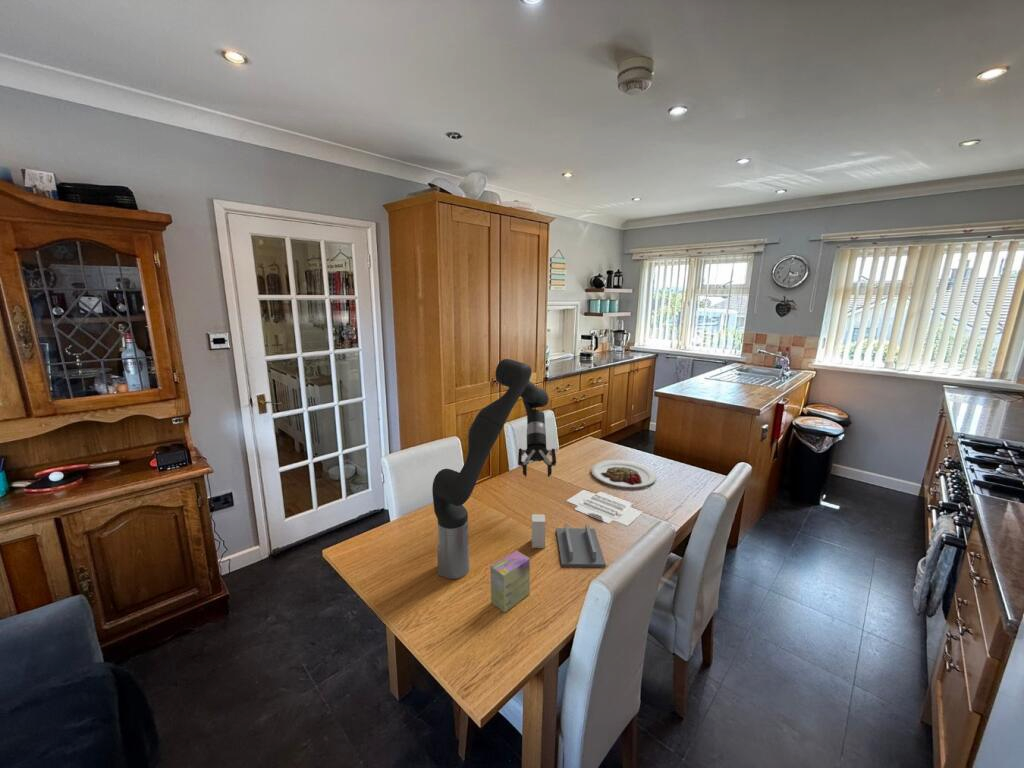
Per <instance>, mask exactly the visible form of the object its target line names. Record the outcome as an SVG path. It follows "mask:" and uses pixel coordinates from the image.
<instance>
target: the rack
mask: <svg viewBox="0 0 1024 768" xmlns="http://www.w3.org/2000/svg"><path fill="white" fill-rule="evenodd" d="M584 526H585V527H584V528H576V527H575V528H569V526H568V523H564V528H562V527H559V528H558V527H557V528H555V530H556V537H557V544H558V545H557V546H558V550H559V557H560V564H561V565H560V566H561V567H562V568H563V567H564V568H565V567H567V568H576V567H577V568H606V566H607V565H606V564H607V563H606V561H605V557H604V555H603V551H602V549H601V545H600V542H599V538H598V535H597V532H596V530H595V528H590V525H589V524H587V523H585V525H584Z"/></svg>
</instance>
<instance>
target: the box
mask: <svg viewBox="0 0 1024 768" xmlns="http://www.w3.org/2000/svg"><path fill="white" fill-rule="evenodd" d="M530 559H531V558H530V557H528V556H526V555H525V554H523V553H521V552H520V551H518V550H515V551H513V552H511V553H509V554H508V555H507V556H505V557H503V558H502V559H500V560H498V561H497V562H495V563H494V564H492V565H490V595H491V596H490V603H491V604H492V605H493V606H495V607H496V608H498V609H499V610H500V611H501V612H503V613H506V612H507V611H509V610H510V609H512V608H513V607H515V605H517V604H518V603H519V602H521V601H522V600H524V599H525V598H526V597H528V596H530V593H531V592H530V591H531V590H530V589H531V587H530V586H531V581H530V579H531V578H530V577H531V575H530V571H531V565H530V563H531V561H530Z"/></svg>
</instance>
